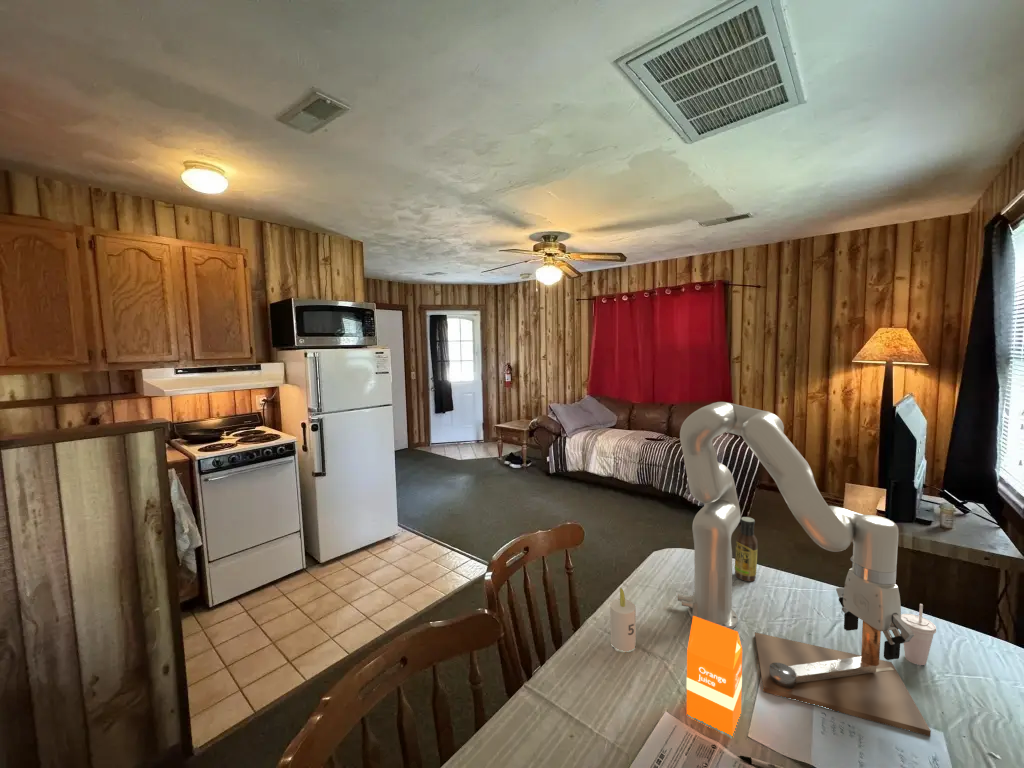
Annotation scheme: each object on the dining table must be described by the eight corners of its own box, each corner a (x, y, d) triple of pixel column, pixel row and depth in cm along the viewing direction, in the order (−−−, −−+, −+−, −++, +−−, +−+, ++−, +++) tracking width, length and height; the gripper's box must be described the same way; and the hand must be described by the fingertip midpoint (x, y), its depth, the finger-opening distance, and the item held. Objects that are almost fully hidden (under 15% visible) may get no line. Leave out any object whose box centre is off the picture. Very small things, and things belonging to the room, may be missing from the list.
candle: (621, 656, 106) (621, 599, 105) (605, 640, 112) (605, 586, 111) (641, 649, 109) (641, 592, 108) (624, 633, 115) (624, 580, 114)
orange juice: (697, 692, 95) (698, 606, 93) (741, 713, 89) (743, 622, 88) (685, 716, 89) (686, 625, 87) (732, 740, 83) (734, 643, 82)
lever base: (763, 691, 95) (763, 686, 94) (754, 636, 112) (754, 631, 112) (930, 736, 83) (930, 730, 83) (891, 667, 101) (891, 661, 100)
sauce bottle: (730, 574, 142) (731, 516, 141) (744, 570, 144) (745, 513, 143) (746, 584, 136) (747, 523, 135) (761, 580, 138) (762, 520, 137)
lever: (780, 689, 93) (781, 638, 92) (764, 672, 98) (765, 624, 97) (886, 674, 96) (889, 625, 95) (865, 658, 101) (867, 612, 100)
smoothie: (941, 671, 99) (945, 613, 98) (909, 668, 100) (912, 611, 99) (921, 652, 105) (924, 597, 104) (891, 649, 106) (893, 595, 105)
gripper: (826, 554, 105) (823, 621, 106) (898, 595, 88) (893, 673, 89) (853, 552, 106) (850, 618, 107) (930, 591, 89) (925, 669, 90)
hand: (870, 643), depth 98 cm, fingers open, 9 cm apart
